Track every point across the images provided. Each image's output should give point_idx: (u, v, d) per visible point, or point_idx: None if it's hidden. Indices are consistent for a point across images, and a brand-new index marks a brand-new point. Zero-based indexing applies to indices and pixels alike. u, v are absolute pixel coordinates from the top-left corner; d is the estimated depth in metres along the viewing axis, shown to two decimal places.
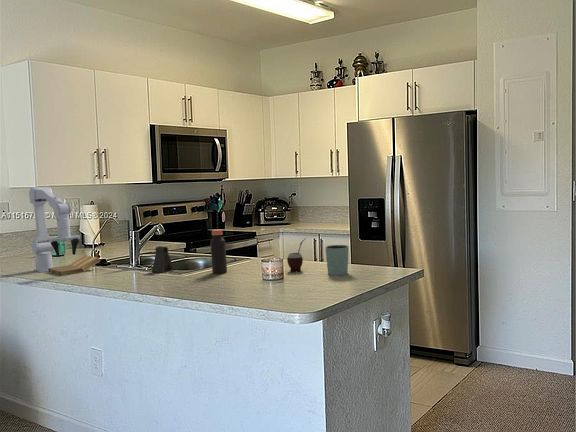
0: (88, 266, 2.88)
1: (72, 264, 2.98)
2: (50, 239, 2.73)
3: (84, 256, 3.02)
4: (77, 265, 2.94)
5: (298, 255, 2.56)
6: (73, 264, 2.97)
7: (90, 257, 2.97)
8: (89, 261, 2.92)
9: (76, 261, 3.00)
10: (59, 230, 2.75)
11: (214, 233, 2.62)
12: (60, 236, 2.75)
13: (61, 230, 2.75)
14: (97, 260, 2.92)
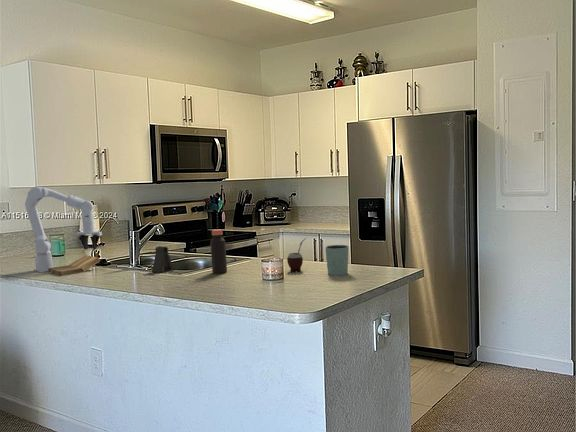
0: (88, 266, 2.88)
1: (72, 264, 2.98)
2: (77, 233, 3.03)
3: (84, 256, 3.02)
4: (77, 265, 2.94)
5: (298, 255, 2.56)
6: (73, 264, 2.97)
7: (90, 257, 2.97)
8: (89, 261, 2.92)
9: (76, 261, 3.00)
10: None
11: (214, 233, 2.62)
12: (83, 231, 3.01)
13: None
14: (97, 260, 2.92)
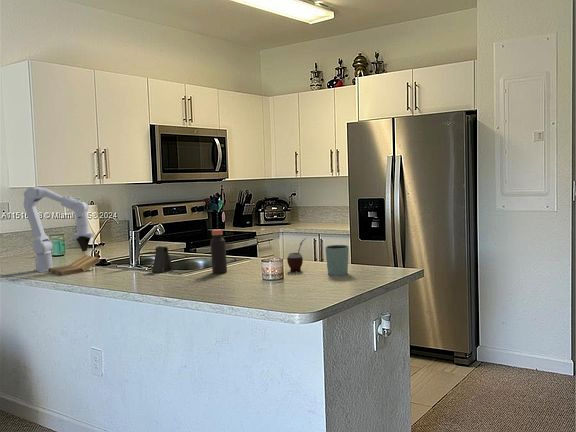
0: (88, 266, 2.88)
1: (72, 264, 2.98)
2: (73, 234, 2.98)
3: (84, 256, 3.02)
4: (77, 265, 2.94)
5: (298, 255, 2.56)
6: (73, 264, 2.97)
7: (90, 257, 2.97)
8: (89, 261, 2.92)
9: (76, 261, 3.00)
10: None
11: (214, 233, 2.62)
12: None
13: None
14: (97, 260, 2.92)
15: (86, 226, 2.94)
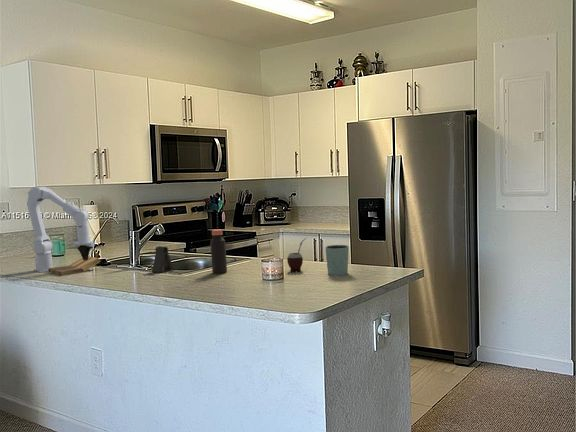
0: (88, 266, 2.88)
1: (72, 264, 2.98)
2: (74, 243, 2.99)
3: None
4: (77, 265, 2.94)
5: (298, 255, 2.56)
6: (73, 264, 2.97)
7: (90, 258, 2.97)
8: (89, 261, 2.92)
9: (76, 261, 3.00)
10: None
11: (214, 233, 2.62)
12: None
13: None
14: (97, 261, 2.92)
15: (87, 235, 2.94)
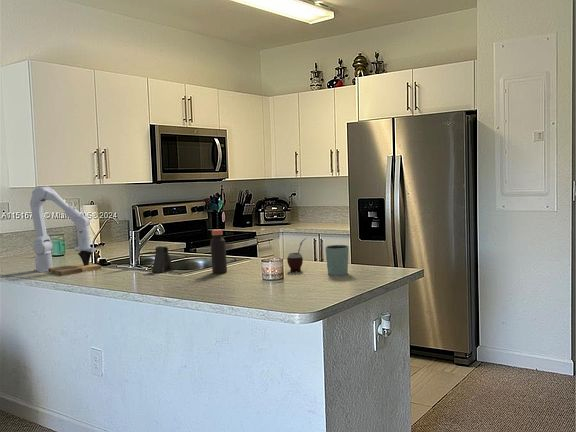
0: (88, 269, 2.89)
1: (72, 265, 2.98)
2: None
3: None
4: (77, 266, 2.94)
5: (298, 255, 2.56)
6: (73, 265, 2.97)
7: (92, 264, 2.98)
8: (90, 266, 2.92)
9: (77, 264, 3.00)
10: None
11: (214, 233, 2.62)
12: None
13: (78, 241, 2.95)
14: (98, 267, 2.92)
15: (87, 240, 2.94)
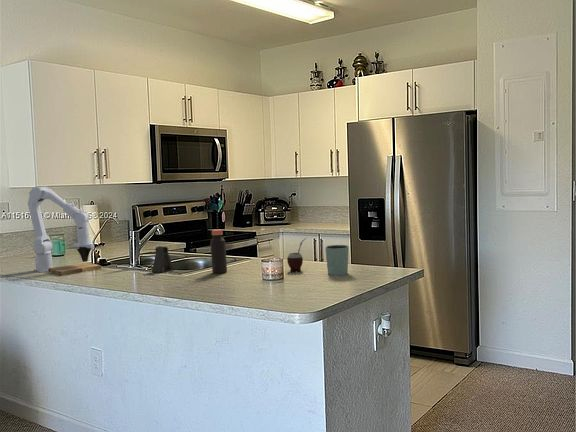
0: (88, 269, 2.89)
1: (72, 265, 2.98)
2: (74, 244, 2.99)
3: (86, 263, 3.03)
4: (77, 266, 2.94)
5: (298, 255, 2.56)
6: (73, 265, 2.97)
7: (92, 264, 2.98)
8: (90, 266, 2.92)
9: (77, 264, 3.00)
10: None
11: (214, 233, 2.62)
12: None
13: (77, 237, 2.95)
14: (98, 267, 2.92)
15: (87, 237, 2.94)
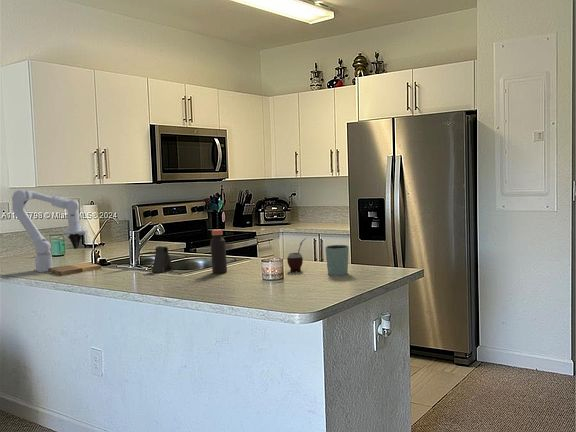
0: (88, 269, 2.89)
1: (72, 265, 2.98)
2: (62, 232, 3.02)
3: (86, 263, 3.03)
4: (77, 266, 2.94)
5: (298, 255, 2.56)
6: (73, 265, 2.97)
7: (92, 264, 2.98)
8: (90, 266, 2.92)
9: (77, 264, 3.00)
10: None
11: (214, 233, 2.62)
12: None
13: (68, 225, 2.98)
14: (98, 267, 2.92)
15: (79, 224, 3.00)
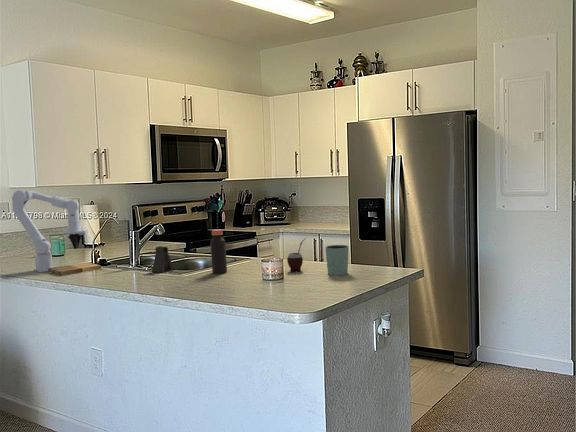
0: (88, 269, 2.89)
1: (72, 265, 2.98)
2: (62, 232, 3.02)
3: (86, 263, 3.03)
4: (77, 266, 2.94)
5: (298, 255, 2.56)
6: (73, 265, 2.97)
7: (92, 264, 2.98)
8: (90, 266, 2.92)
9: (77, 264, 3.00)
10: None
11: (214, 233, 2.62)
12: None
13: (68, 225, 2.98)
14: (98, 267, 2.92)
15: (79, 224, 3.00)
